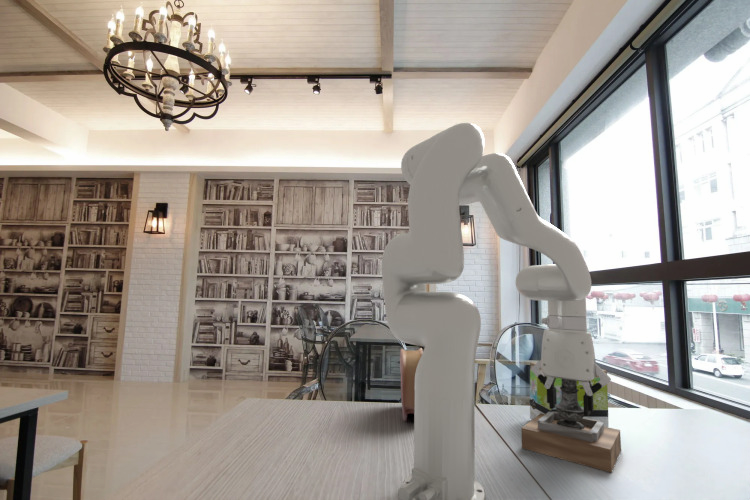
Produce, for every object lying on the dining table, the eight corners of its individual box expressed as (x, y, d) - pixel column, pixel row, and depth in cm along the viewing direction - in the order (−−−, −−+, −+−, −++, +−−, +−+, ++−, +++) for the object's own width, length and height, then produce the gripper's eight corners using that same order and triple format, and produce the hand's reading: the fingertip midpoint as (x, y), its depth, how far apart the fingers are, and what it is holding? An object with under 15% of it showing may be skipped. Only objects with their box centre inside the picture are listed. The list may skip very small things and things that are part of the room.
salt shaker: (558, 418, 83) (557, 363, 84) (588, 425, 79) (586, 367, 80) (551, 425, 78) (550, 366, 80) (583, 432, 74) (580, 370, 76)
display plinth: (611, 472, 68) (610, 440, 68) (521, 448, 78) (521, 420, 78) (621, 449, 78) (619, 422, 79) (541, 430, 88) (540, 406, 89)
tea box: (552, 433, 87) (550, 368, 89) (529, 419, 97) (528, 361, 99) (610, 432, 89) (607, 369, 91) (582, 419, 99) (580, 361, 100)
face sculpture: (429, 428, 87) (430, 356, 90) (400, 427, 88) (401, 355, 90) (420, 404, 107) (421, 345, 109) (396, 403, 107) (398, 344, 110)
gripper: (521, 322, 84) (522, 405, 81) (610, 328, 73) (615, 424, 71) (531, 321, 89) (532, 399, 87) (616, 327, 79) (620, 416, 76)
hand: (569, 409), depth 79 cm, fingers closed on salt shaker, 6 cm apart
